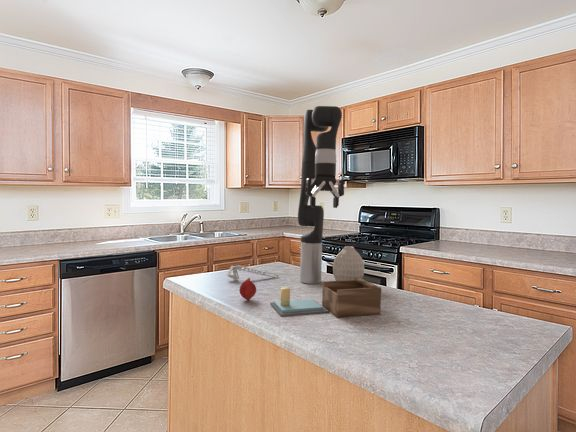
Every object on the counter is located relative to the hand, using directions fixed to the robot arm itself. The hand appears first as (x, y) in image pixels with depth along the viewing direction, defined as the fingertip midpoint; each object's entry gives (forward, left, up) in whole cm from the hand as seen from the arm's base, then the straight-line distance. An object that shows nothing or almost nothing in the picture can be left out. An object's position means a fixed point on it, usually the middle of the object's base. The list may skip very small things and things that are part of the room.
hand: (324, 207), depth 133 cm
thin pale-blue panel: (+10, -13, -32) cm, 36 cm away
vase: (-13, +17, -33) cm, 40 cm away
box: (+16, +4, -33) cm, 37 cm away
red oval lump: (-3, -27, -33) cm, 43 cm away
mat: (+10, -12, -33) cm, 37 cm away
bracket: (-35, -18, -34) cm, 52 cm away
